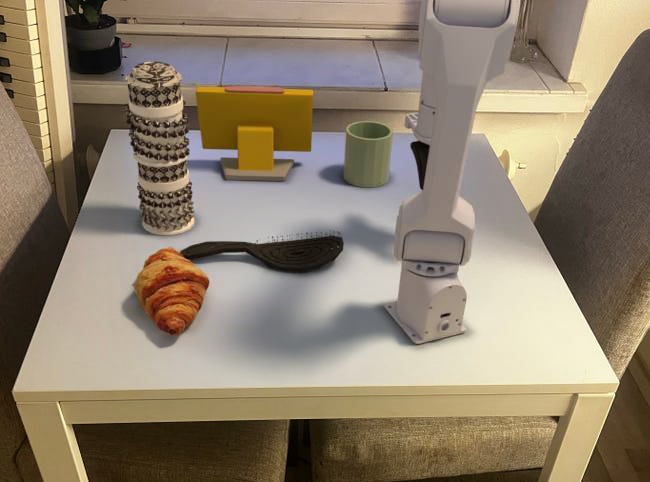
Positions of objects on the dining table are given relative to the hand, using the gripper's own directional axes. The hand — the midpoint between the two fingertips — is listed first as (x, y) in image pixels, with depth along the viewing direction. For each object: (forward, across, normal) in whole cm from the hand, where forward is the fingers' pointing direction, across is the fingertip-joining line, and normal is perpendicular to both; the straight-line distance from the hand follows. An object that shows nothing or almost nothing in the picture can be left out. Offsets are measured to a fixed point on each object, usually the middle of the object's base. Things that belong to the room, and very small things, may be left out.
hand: (427, 189), depth 117 cm
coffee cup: (+9, +24, -2) cm, 25 cm away
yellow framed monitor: (+9, +33, +16) cm, 38 cm away
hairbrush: (+9, +4, +26) cm, 28 cm away
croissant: (+9, -2, +41) cm, 42 cm away
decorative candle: (+9, +20, +36) cm, 42 cm away
